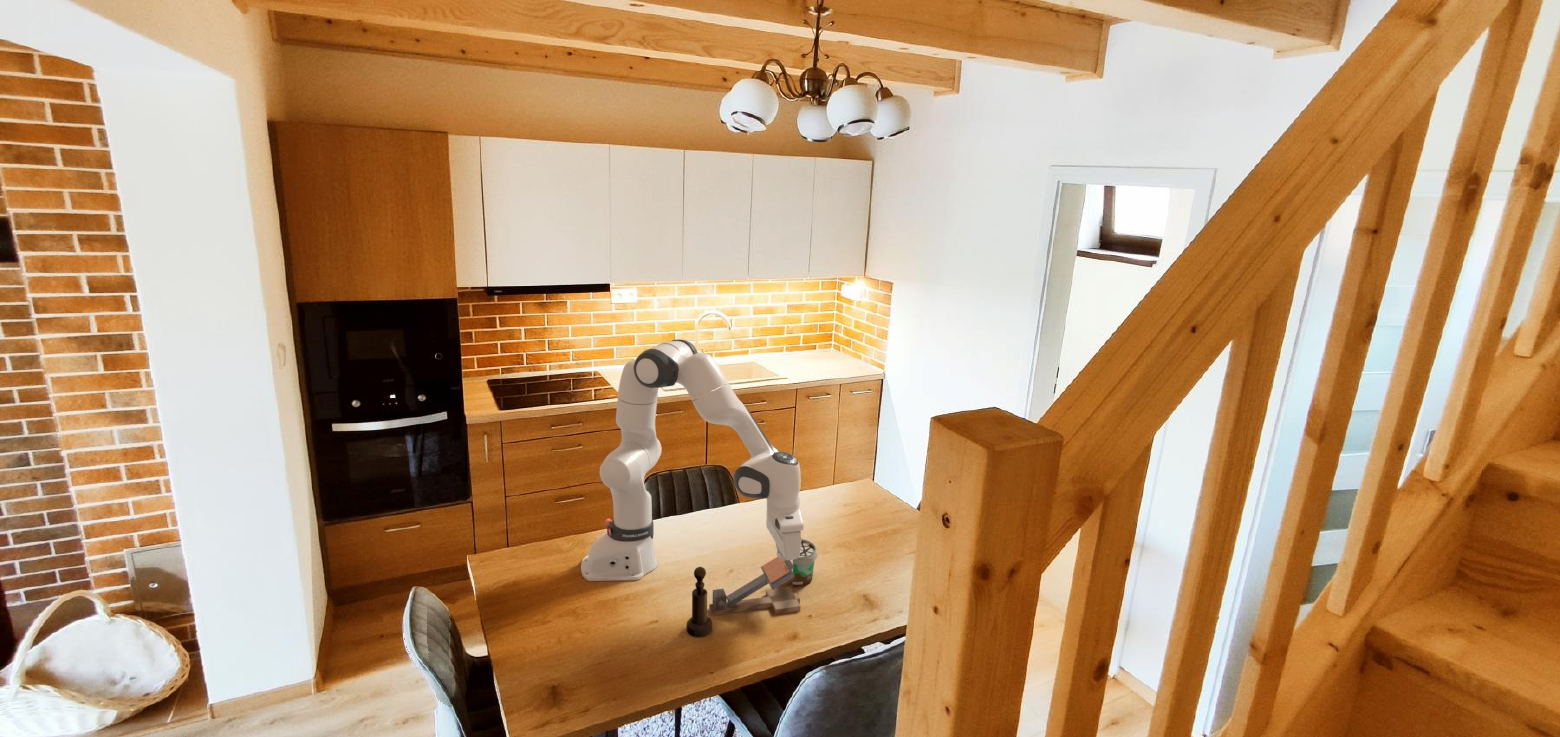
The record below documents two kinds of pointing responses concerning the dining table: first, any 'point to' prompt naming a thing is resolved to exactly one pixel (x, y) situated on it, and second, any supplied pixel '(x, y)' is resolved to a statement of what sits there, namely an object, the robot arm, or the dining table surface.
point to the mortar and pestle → (699, 608)
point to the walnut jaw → (757, 602)
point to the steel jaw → (765, 579)
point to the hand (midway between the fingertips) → (781, 558)
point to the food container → (804, 564)
